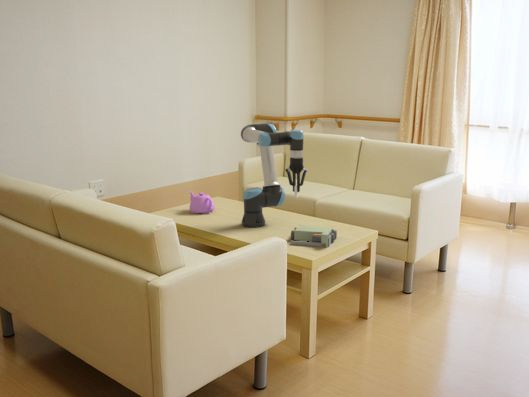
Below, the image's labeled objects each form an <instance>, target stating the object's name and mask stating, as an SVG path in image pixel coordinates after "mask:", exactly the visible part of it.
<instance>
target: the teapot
mask: <svg viewBox="0 0 529 397" xmlns="http://www.w3.org/2000/svg"><path fill="white" fill-rule="evenodd" d="M189 194H190V204H189V211H190V212H191V213H192V212H193V213H192V214H195V213H206V214H210V213H209V212H211V213H213V211H214V210H215V208H216V207H215V202H214V201H213V199H212V197H211V196H210V195H209V194H205V193H204V192H198V194H196V195H195V194H194V192H193V191H192V190H189Z"/></svg>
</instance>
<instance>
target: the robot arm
mask: <svg viewBox="0 0 529 397" xmlns="http://www.w3.org/2000/svg"><path fill="white" fill-rule="evenodd" d="M240 137H241V139H242V140H243V142H246V143H256V146H257V147H258V148H259V152H260V158H261V159H260V160H261V168H262V174H263V175H262V176H263V183H264V184H263V186H262V187H259V186H258V187H250V188H247V189H245V190H244V191H243V215H242V219H241V226H242V227H246V228H259V227H260V228H261V227H264V226H265V225H266V218H265V216H264V213H263V209H264V208H272V207H275V208H277V207H280V206H282V205H283V204H284V202H285V198H286V193H285V189H284V188H283V187H281V184H280V182H278V174H277V167H276V160H275V152H274V146H277V147H278V146H289V157H290V158H289V166H288V167H287V168H285V172H286V174H287V178H288V183H289V185H290V186H292V192H293V193H294V194H293V195H294V199H297V198H299V193H300V191H301V186H303V185H304V182H305V178H306V174H307V172H308V171H309V170H308V169H306V168H305V167H304V131H303V130H302V129H292V130H288V131H287V130H285V131H281V132H279V131H277V128H276V127H275V125H274V124H272V123H255V124H254V123H253V124H247V125H245V126H244V127H243V128H242V129H241V131H240ZM301 172H302V175H301ZM291 173H292V174H291Z"/></svg>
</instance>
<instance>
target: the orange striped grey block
mask: <svg viewBox="0 0 529 397" xmlns="http://www.w3.org/2000/svg"><path fill="white" fill-rule="evenodd" d="M312 242H318V243H321V234H314V235H313V236H312Z"/></svg>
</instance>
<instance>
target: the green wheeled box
mask: <svg viewBox="0 0 529 397" xmlns="http://www.w3.org/2000/svg"><path fill="white" fill-rule="evenodd" d="M314 234H321V243H318V242H312V236H313V235H314ZM337 235H338V232H337V229H334V227H330V226H317V225H316V226H315V225H314V226H313V225H299V226H297V227H294V229H293V230H291V232H290V239H291V240H290V245H291V244H298V245H297V246H305V245H307V247H321V248H328V247H330V246H331V244H332V243H334V242H335V240H337ZM294 240H300V241H294ZM307 241H309V242H307Z"/></svg>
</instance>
